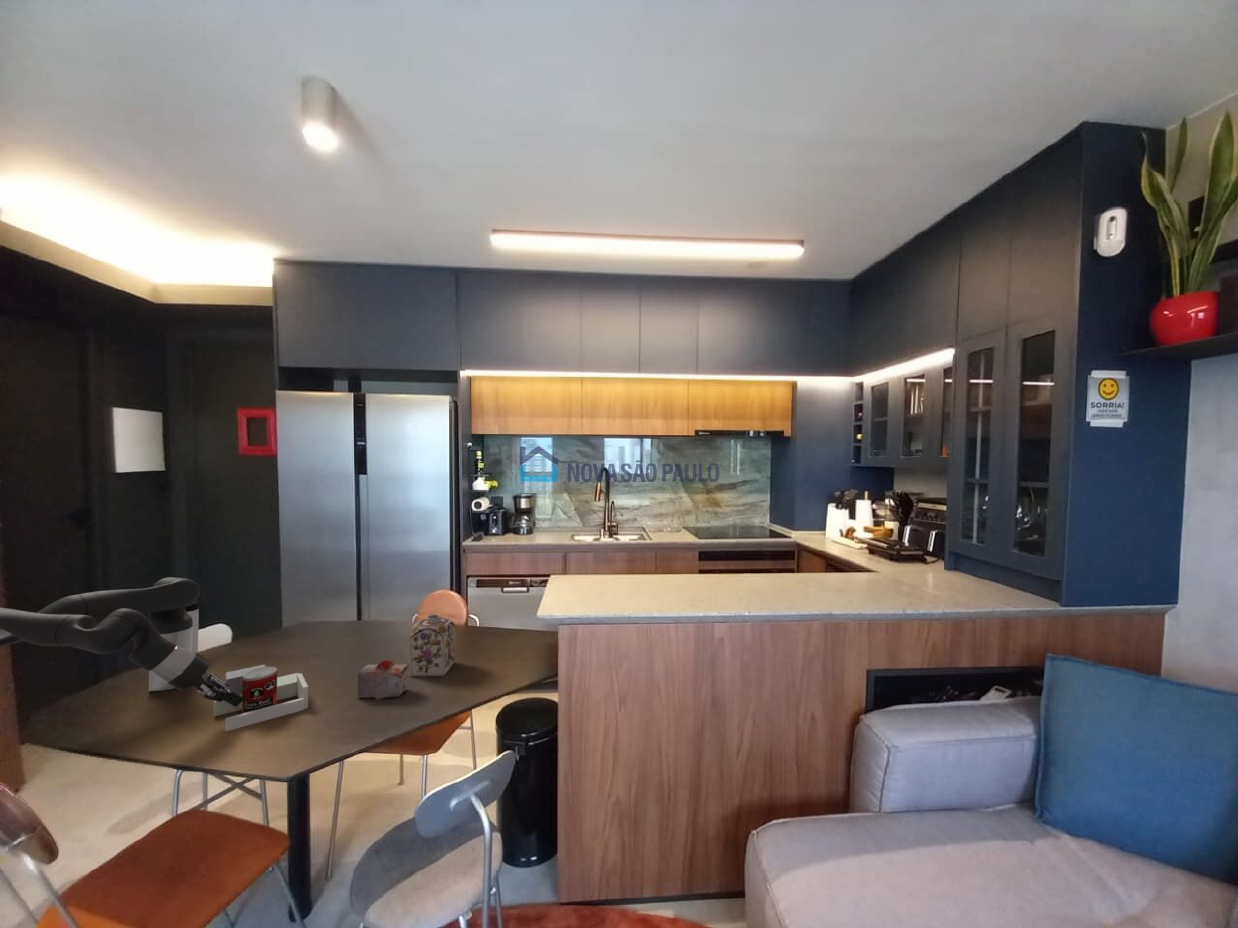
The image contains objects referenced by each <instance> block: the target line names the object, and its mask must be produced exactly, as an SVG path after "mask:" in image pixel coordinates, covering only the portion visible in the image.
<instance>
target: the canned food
mask: <svg viewBox="0 0 1238 928" xmlns="http://www.w3.org/2000/svg"><path fill="white" fill-rule="evenodd" d="M277 678H278V668H277V667H276V666H265V667H262V668H257V669H254V670H251V671H249V672H247V673H245V674H244V675H243V681H242V698H243V701H242V710H241V714H243V713H247V712H250V711H254V710H258V709H262V708H266V707H270V706H273V705H277V703H278V702H277V701H278V700H277Z"/></svg>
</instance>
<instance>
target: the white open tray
mask: <svg viewBox="0 0 1238 928" xmlns="http://www.w3.org/2000/svg"><path fill="white" fill-rule="evenodd" d="M262 667H266V665H265V664H260V665H259V664H258V665H255V666H252V667H251V666H250V667H245V668H241V669H237V670H231V671H227V672H225V677H224V678H225V681H224V682H225V683H226V684H227V685H229V687H228V688H231V691H233V692H234V693H236V694H238V695H240V696H241V697H242V681H243V675H244V674H245V673H247V672H249V671H251V670H254V669H257V668H262ZM295 696H297V699H293V700H288V701H285V702H282V703H278V704H277V705H273V706H270V707H266V708H262V709H258V710H254V711H250V712H247V713H243V714H242V713H240V714H236V715H231V716H228V717H225V719H224V720H225V726H224V727H225V729H224V730H225V732H229V731H233V730H236V729H240V728H244V727H247V726H251V725H254V724H259V723H262V722H265V721H268V720H272V719H276V718H280V717H283V716H287V715H290V714H294V713H298V712H301V711H305V709H308V708H309V684H308V683H307V682H306V679H305V677H304V674H302V672H301V673H299V672H295V673H290V674H287V675H282V676H277V701H281V700H285V699H288V698H293V697H295ZM237 711H242V702H241V703H240V704H239V705H238V706H236V707H235V706H233V705H231V704H229V703H228V702H226V701H224V700H223V701H222V702H218V701H214V700H213V717H214V718H215V717H218V716H223V715H226V714H230V713H234V712H237Z"/></svg>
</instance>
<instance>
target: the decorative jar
mask: <svg viewBox="0 0 1238 928" xmlns="http://www.w3.org/2000/svg"><path fill="white" fill-rule="evenodd" d="M455 662H456V624H455V622H454V621H452V620H451V619H449V618H448V617H447V618H446V617H442V615H441V614H438V613H436V614H430V615H427V616H426V618H425V619H422V620H419V621H417V622H416V623H415V624H414V625H413V628H412V630H411V632H410V635H409V677H444V676H445V675H446V674H447V673H448V672H449V670H450V669H451V668H452V667H453V665H454V664H455Z"/></svg>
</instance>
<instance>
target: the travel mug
mask: <svg viewBox="0 0 1238 928" xmlns="http://www.w3.org/2000/svg"><path fill="white" fill-rule="evenodd" d="M199 609H200V608H199V600H198V599H197V600H196V601H195V602H193V603H192V604H190V605H189V606H187V607H185V610H186V612H187V613H188V614H189V615H190V616H191V617H192V619H193V634H192V653H193V654H194V655H196V656H198V655H199V617H200V616H199Z"/></svg>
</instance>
